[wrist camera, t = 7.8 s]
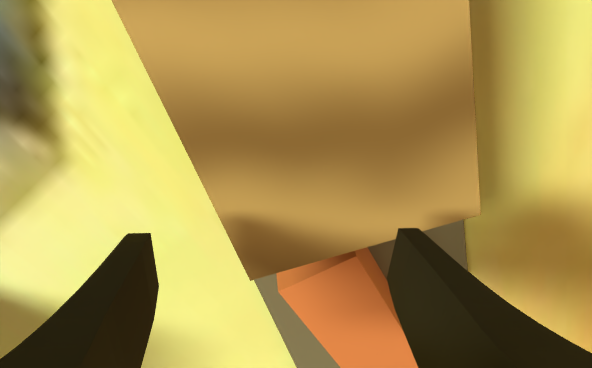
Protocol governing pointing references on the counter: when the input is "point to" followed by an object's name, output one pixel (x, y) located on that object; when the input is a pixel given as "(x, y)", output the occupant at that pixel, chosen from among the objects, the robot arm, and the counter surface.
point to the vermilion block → (348, 310)
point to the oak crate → (317, 117)
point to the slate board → (451, 238)
